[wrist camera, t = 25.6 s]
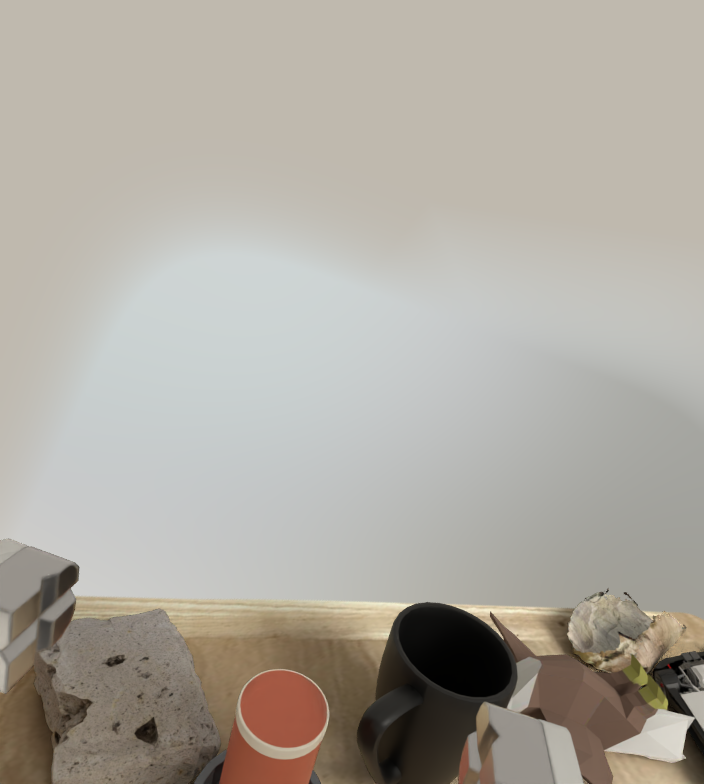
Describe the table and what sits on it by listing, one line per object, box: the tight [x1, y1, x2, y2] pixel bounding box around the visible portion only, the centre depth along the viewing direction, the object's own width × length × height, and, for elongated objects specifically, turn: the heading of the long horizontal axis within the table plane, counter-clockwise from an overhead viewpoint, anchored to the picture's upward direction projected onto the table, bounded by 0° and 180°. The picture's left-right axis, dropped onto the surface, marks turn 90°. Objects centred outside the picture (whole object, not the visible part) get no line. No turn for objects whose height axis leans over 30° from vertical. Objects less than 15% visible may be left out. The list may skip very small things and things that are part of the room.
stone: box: [34, 609, 221, 784], centre depth 33 cm, size 13×6×10 cm
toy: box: [490, 612, 695, 784], centre depth 40 cm, size 16×16×7 cm
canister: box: [219, 669, 329, 784], centre depth 28 cm, size 4×4×10 cm
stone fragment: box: [517, 589, 686, 673], centre depth 53 cm, size 19×8×5 cm
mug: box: [357, 602, 518, 784], centre depth 34 cm, size 8×12×10 cm
